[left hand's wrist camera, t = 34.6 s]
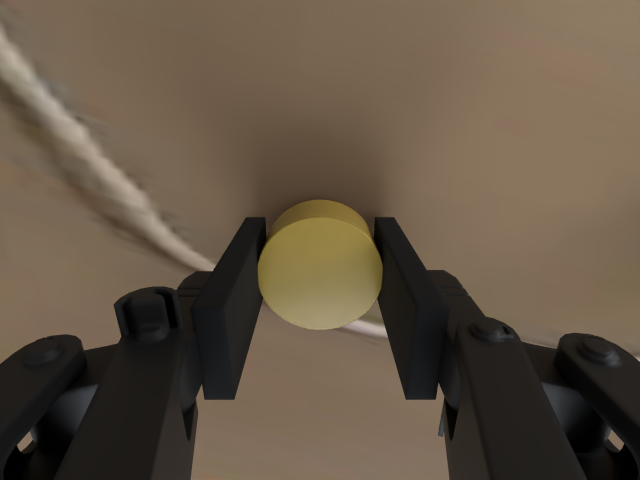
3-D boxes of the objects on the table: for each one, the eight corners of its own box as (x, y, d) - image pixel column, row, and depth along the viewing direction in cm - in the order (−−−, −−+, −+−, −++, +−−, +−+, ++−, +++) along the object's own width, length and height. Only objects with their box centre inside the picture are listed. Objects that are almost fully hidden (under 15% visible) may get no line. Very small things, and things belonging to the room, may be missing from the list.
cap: (373, 297, 15) (381, 328, 13) (271, 300, 15) (263, 332, 13) (375, 197, 14) (385, 214, 11) (260, 201, 14) (250, 219, 12)
